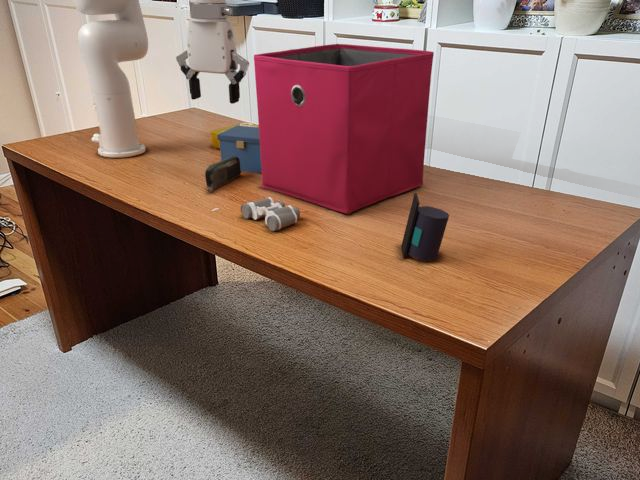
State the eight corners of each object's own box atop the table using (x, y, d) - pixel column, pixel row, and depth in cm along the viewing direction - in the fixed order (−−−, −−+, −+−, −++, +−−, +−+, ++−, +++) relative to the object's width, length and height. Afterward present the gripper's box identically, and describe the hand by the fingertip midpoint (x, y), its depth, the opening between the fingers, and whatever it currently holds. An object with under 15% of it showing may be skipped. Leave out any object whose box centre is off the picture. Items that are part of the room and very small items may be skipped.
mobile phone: (230, 154, 144) (199, 169, 132) (241, 155, 144) (210, 170, 132) (232, 174, 147) (201, 191, 135) (243, 175, 146) (212, 192, 134)
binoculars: (240, 216, 122) (239, 199, 120) (271, 207, 127) (271, 191, 125) (276, 233, 115) (275, 215, 113) (307, 223, 119) (307, 206, 117)
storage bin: (255, 188, 138) (247, 52, 122) (336, 162, 155) (338, 41, 140) (346, 218, 122) (350, 66, 106) (425, 186, 139) (439, 51, 124)
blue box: (219, 169, 150) (216, 135, 145) (239, 158, 159) (236, 125, 154) (264, 174, 146) (263, 139, 142) (282, 163, 155) (281, 129, 150)
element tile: (208, 146, 168) (207, 129, 166) (247, 137, 178) (246, 120, 175) (245, 156, 160) (244, 138, 157) (283, 145, 170) (283, 128, 167)
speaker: (392, 257, 105) (403, 200, 100) (401, 246, 110) (412, 191, 104) (433, 268, 103) (447, 211, 98) (440, 257, 108) (454, 202, 102)
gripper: (254, 13, 123) (257, 100, 133) (182, 9, 128) (190, 94, 138) (237, 16, 117) (242, 107, 127) (162, 11, 122) (172, 100, 132)
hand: (215, 100), depth 132 cm, fingers open, 9 cm apart
